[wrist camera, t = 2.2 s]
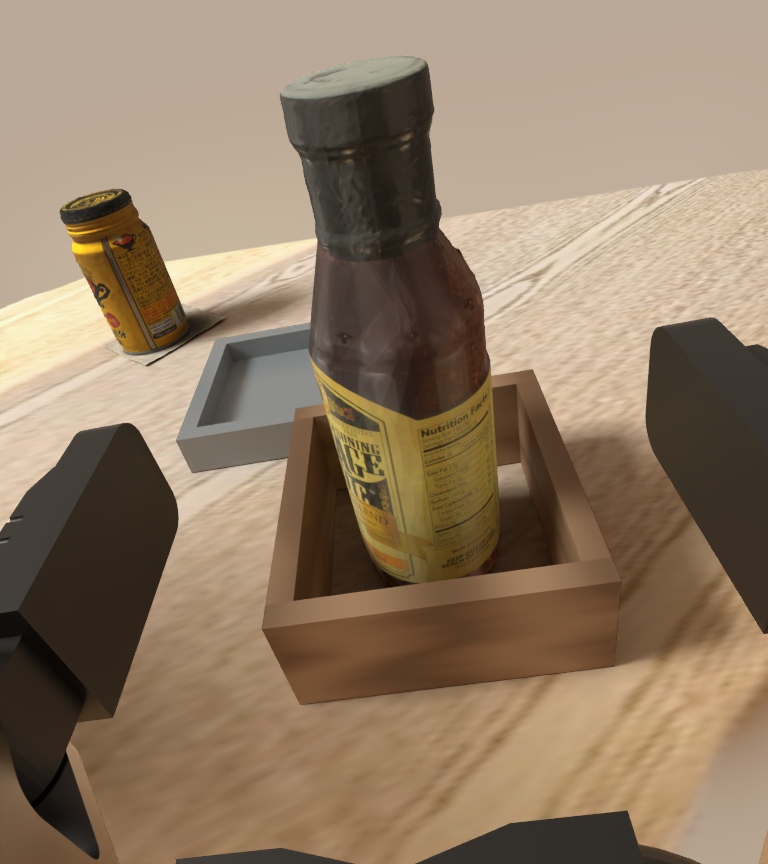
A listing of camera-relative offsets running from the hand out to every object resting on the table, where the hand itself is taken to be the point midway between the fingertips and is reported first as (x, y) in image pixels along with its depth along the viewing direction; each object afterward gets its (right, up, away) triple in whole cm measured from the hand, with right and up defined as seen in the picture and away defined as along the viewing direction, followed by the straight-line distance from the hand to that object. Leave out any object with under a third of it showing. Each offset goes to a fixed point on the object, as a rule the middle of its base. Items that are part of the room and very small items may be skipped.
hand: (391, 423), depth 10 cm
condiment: (-19, +8, +44) cm, 48 cm away
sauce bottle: (+2, -6, +19) cm, 20 cm away
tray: (-6, +2, +31) cm, 32 cm away
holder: (+2, -6, +19) cm, 20 cm away
